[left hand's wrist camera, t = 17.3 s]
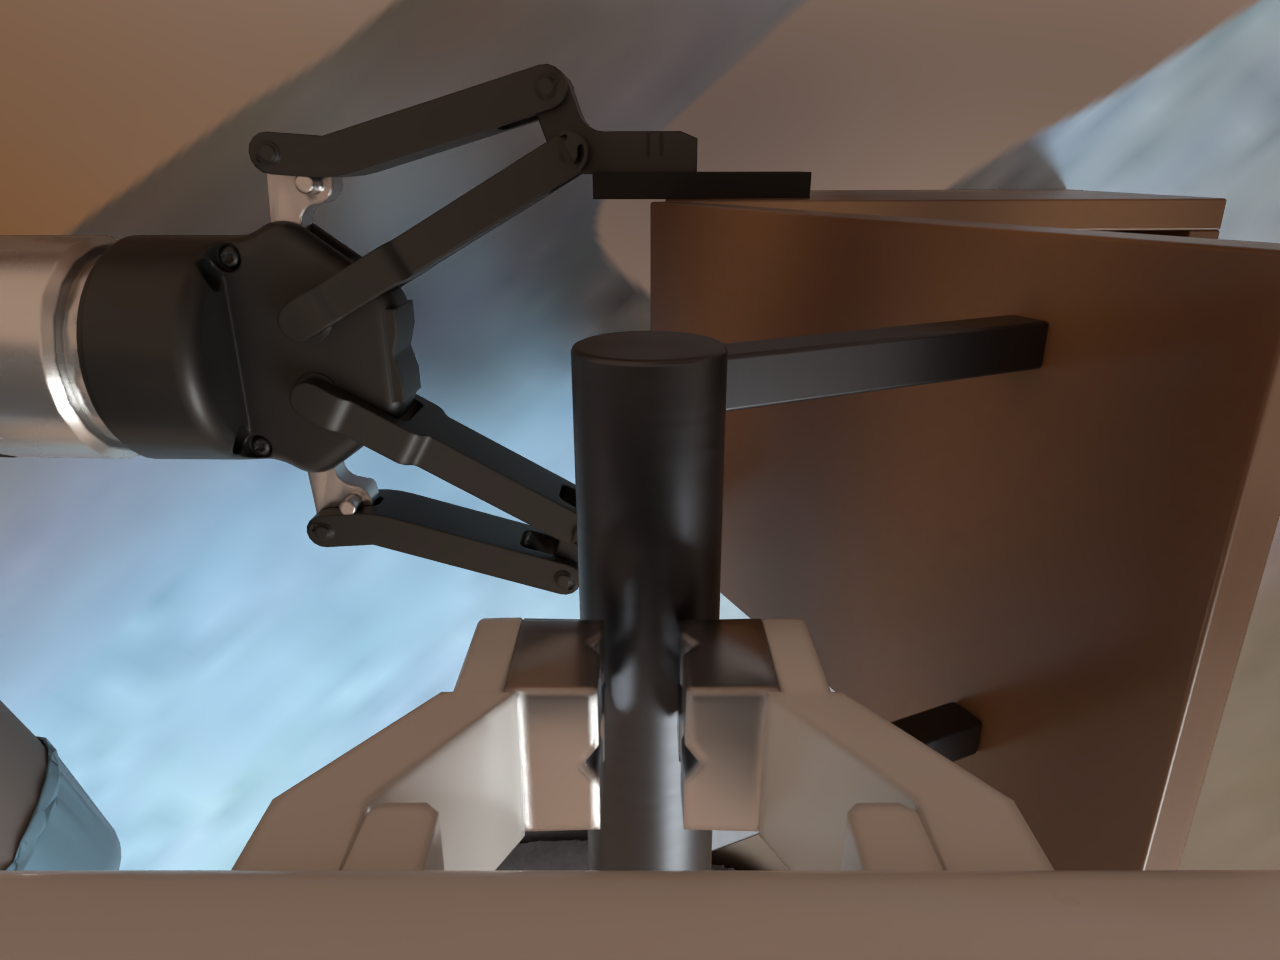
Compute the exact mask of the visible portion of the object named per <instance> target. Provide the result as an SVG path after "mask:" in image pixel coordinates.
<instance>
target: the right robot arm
mask: <svg viewBox="0 0 1280 960" xmlns="http://www.w3.org/2000/svg"><path fill="white" fill-rule="evenodd" d="M536 121H539V122H540V125H541V128H542V130H543V133H544V136H545V138H546V141H547V142H546V143H544V144H543V145H541V146H540V147H538V148H537V149H535V150H533V151H532V152H530V153H529V154H527V155H525V156H524V157H522V158H521V159H519V160H518V161H516V162H514V163H513V164H511V165H510V166H508V167H507V168H505V169H503V170H502V171H500V172H499V173H497V174H496V175H494V176H492V177H491V178H489V179H488V180H486V181H485V182H483V183H481V184H480V185H478V186H477V187H475V188H473V189H472V190H470V191H469V192H467V193H466V194H464V195H462V196H461V197H459V198H458V199H456V200H455V201H453V202H451V203H450V204H448V205H447V206H445V207H444V208H442V209H440V210H439V211H437V212H436V213H434V214H432V215H431V216H429V217H428V218H426V219H425V220H423V221H421V222H420V223H418V224H417V225H415V226H414V227H412V228H410V229H409V230H407V231H406V232H404V233H403V234H401V235H399V236H398V237H396V238H395V239H393V240H391V241H389V242H387V243H385V244H383V245H382V246H380V247H378V248H376V249H375V250H373V251H371V252H370V253H368V254H367V255H365V256H363V257H362V256H360V255H359V254H357V253H356V252H354V251H353V250H351V249H350V248H349V247H347V246H346V245H344V244H343V243H341V242H340V241H338V240H337V239H336V238H334V237H333V236H331V235H330V234H328V233H327V232H325V231H324V230H323V229H321V228H320V227H318V226H317V225H315V224H313V223H312V218H313V213H314V211H315V209H316V208H317V207H318V206H319V205H321V204H323V203H327V202H331V201H334V200H336V199H337V198H338V197H339V196H340V194H341V192H342V188H343V179H342V177H352V176H361V175H367V174H371V173H376V172H379V171H382V170H386V169H389V168H392V167H395V166H398V165H401V164H404V163H408V162H411V161H414V160H417V159H420V158H423V157H426V156H430V155H433V154H436V153H439V152H442V151H445V150H448V149H451V148H455V147H458V146H461V145H464V144H467V143H470V142H473V141H477V140H480V139H483V138H486V137H489V136H492V135H495V134H498V133H502V132H505V131H508V130H511V129H514V128H517V127H520V126H524V125H527V124H530V123H533V122H536ZM249 154H250V158H251V161H252V162H253V164H254V165H255V167H256V168H258V169H259V170H260V171H262V172H264V173H267V184H268V196H269V208H270V220H271V223H268V224H266V225H264V226H263V227H262V228H260V229H258V230H257V231H255V232H253V233H251V234H249V235H135V236H129V237H125V238H123V239H121V240H119V239H116V238H114V237H111V236H108V235H0V457H48V458H104V459H126V458H133V457H136V456H138V455H142V456H145V457H147V458H154V459H264V458H270V459H277V460H281V461H284V462H287V463H289V464H291V465H293V466H295V467H297V468H299V469H301V470H304V471H307V472H308V475H309V479H310V484H311V488H312V493H313V497H314V502H315V506H316V511H317V514H316V515H315V516H314V517H313V518H312V519H311V520H310V521H309V523H308V525H307V533H308V536H309V538H310V539H311V540H312V541H313V542H314V543H315V544H317V545H319V546H323V547H337V546H355V545H377V546H381V547H384V548H388V549H392V550H396V551H399V552H403V553H407V554H411V555H415V556H418V557H422V558H426V559H430V560H434V561H437V562H441V563H445V564H449V565H452V566H456V567H460V568H464V569H468V570H471V571H475V572H479V573H483V574H486V575H490V576H494V577H498V578H502V579H505V580H509V581H513V582H517V583H520V584H524V585H528V586H532V587H536V588H539V589H543V590H547V591H551V592H555V593H558V594H566V595H567V594H570V593H573V592H574V591H576V590H577V589H578V587H579V568H578V539H577V510H576V485H575V484H573V483H571V482H569V481H567V480H566V479H564V478H562V477H560V476H558V475H556V474H554V473H552V472H551V471H549V470H547V469H545V468H543V467H541V466H539V465H538V464H536V463H534V462H532V461H530V460H528V459H526V458H524V457H523V456H521V455H519V454H517V453H515V452H513V451H511V450H509V449H508V448H506V447H504V446H502V445H500V444H498V443H496V442H494V441H493V440H491V439H489V438H487V437H485V436H483V435H481V434H479V433H478V432H476V431H474V430H472V429H470V428H468V427H466V426H464V425H463V424H461V423H459V422H457V421H455V420H453V419H451V418H450V417H448V416H447V415H446V414H445V412H444V411H443V410H442V409H441V408H440V407H439V406H437V405H435V404H434V403H432V402H430V401H428V400H426V399H424V398H422V397H421V396H419V395H417V394H416V391H417V390H418V389H420V388H421V385H420V374H419V366H418V363H417V360H416V358H415V355H414V352H413V349H412V347H411V340H412V334H413V328H414V312H413V301H412V300H407V298H406V296H405V294H404V292H403V290H402V289H401V287H402V286H404V285H405V284H407V283H408V282H410V281H412V280H413V279H415V278H417V277H418V276H420V275H421V274H423V273H425V272H426V271H428V270H429V269H431V268H432V267H433V266H435V265H436V264H438V263H440V262H441V261H443V260H444V259H446V258H448V257H449V256H451V255H453V254H454V253H456V252H457V251H459V250H461V249H462V248H464V247H465V246H467V245H469V244H470V243H472V242H474V241H475V240H477V239H478V238H480V237H482V236H483V235H485V234H486V233H488V232H490V231H491V230H493V229H495V228H496V227H498V226H499V225H501V224H503V223H504V222H506V221H507V220H509V219H511V218H512V217H514V216H516V215H517V214H519V213H520V212H522V211H524V210H525V209H527V208H528V207H530V206H532V205H533V204H535V203H537V202H538V201H540V200H541V199H543V198H545V197H546V196H548V195H549V194H551V193H553V192H554V191H556V190H558V189H559V188H561V187H562V186H564V185H566V184H567V183H569V182H570V181H572V180H574V179H575V178H577V177H579V176H580V175H582V174H593V199H709V198H810V185H811V172H697V138H695V137H693V136H691V135H688V134H686V133H684V132H681V131H609V132H604V131H597V130H594V129H593V128H591V127H590V126H589V125H588V123H587V122H586V121H585V119H584V117H583V115H582V112H581V109H580V106H579V103H578V101H577V98H576V95H575V92H574V87H573V85H572V83H571V81H570V80H569V79H568V78H567V77H566V76H565V75H564V74H563V73H562V72H561V71H560V70H558V69H557V68H556V67H555V66H552V65H549V64H543V65H537V66H534V67H531V68H528V69H525V70H522V71H519V72H516V73H513V74H510V75H507V76H504V77H501V78H498V79H495V80H492V81H489V82H485V83H482V84H479V85H476V86H473V87H470V88H467V89H464V90H461V91H458V92H455V93H452V94H449V95H446V96H443V97H440V98H437V99H434V100H431V101H427V102H424V103H421V104H418V105H415V106H412V107H409V108H406V109H403V110H400V111H397V112H394V113H391V114H388V115H385V116H382V117H379V118H376V119H373V120H369V121H366V122H363V123H360V124H357V125H354V126H351V127H348V128H345V129H342V130H339V131H336V132H333V133H330V134H327V135H324V136H318V135H304V134H291V133H277V132H262V133H258V134H257V135H256V136H254V137H253V138H252V140H251V142H250V145H249ZM363 446H366V447H368V448H369V449H371V450H373V451H375V452H377V453H379V454H381V455H383V456H385V457H387V458H389V459H391V460H393V461H394V462H397V463H399V464H403V465H415V466H418V467H420V468H422V469H424V470H426V471H427V472H429V473H431V474H433V475H435V476H437V477H439V478H441V479H443V480H445V481H447V482H449V483H450V484H452V485H454V486H456V487H458V488H460V489H462V490H464V491H466V492H468V493H470V494H472V495H474V496H475V497H477V498H479V499H481V500H483V501H485V502H487V503H489V504H491V505H493V506H495V507H497V508H499V509H500V510H502V511H504V512H506V513H508V514H510V515H512V516H514V517H516V518H518V519H520V520H522V521H524V522H525V523H527V524H524V523H520V522H517V521H513V520H509V519H505V518H502V517H498V516H494V515H491V514H487V513H483V512H479V511H476V510H472V509H468V508H465V507H461V506H457V505H454V504H450V503H446V502H442V501H439V500H435V499H431V498H428V497H424V496H420V495H416V494H413V493H408V492H404V491H398V490H389V489H378V487H377V483H376V481H375V480H374V479H371V478H366V477H361V476H357V475H355V474H352V473H351V472H350V471H349V470H348V469H347V467H346V466H345V463H344V460H346V459H347V458H348V457H350V456H351V455H352V454H354V453H355V452H356V451H358V450H359V449H360V448H362V447H363ZM528 524H529V525H528ZM120 861H121V847H120V842H119V839H118V837H117V835H116V832H115V830H114V829H113V828H112V826H111V825H110V824H109V822H108V821H107V820H106V818H105V817H104V816H103V814H102V813H101V812H100V810H99V809H98V808H97V807H96V805H95V804H94V803H93V801H92V800H91V799H90V797H89V796H88V795H87V793H86V792H85V791H84V789H83V788H82V787H81V786H80V784H79V783H78V782H77V780H76V779H75V778H74V776H73V775H72V774H71V772H70V771H69V770H68V768H67V767H66V766H65V765H64V763H63V762H62V761H61V759H60V758H59V757H58V754H57V750H56V749H55V748H54V747H53V745H52V744H51V743H50V742H49V741H48V740H47V739H46V738H44V737H36V736H35V735H34V734H33V733H32V732H31V731H30V730H29V729H28V728H27V727H26V726H25V725H24V724H23V723H22V722H21V721H20V720H19V719H18V718H17V717H16V716H15V715H14V714H13V713H12V712H11V711H10V710H9V709H8V708H7V707H6V706H5V705H4V704H3V703H2V702H1V701H0V870H119V867H120Z"/></svg>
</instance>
